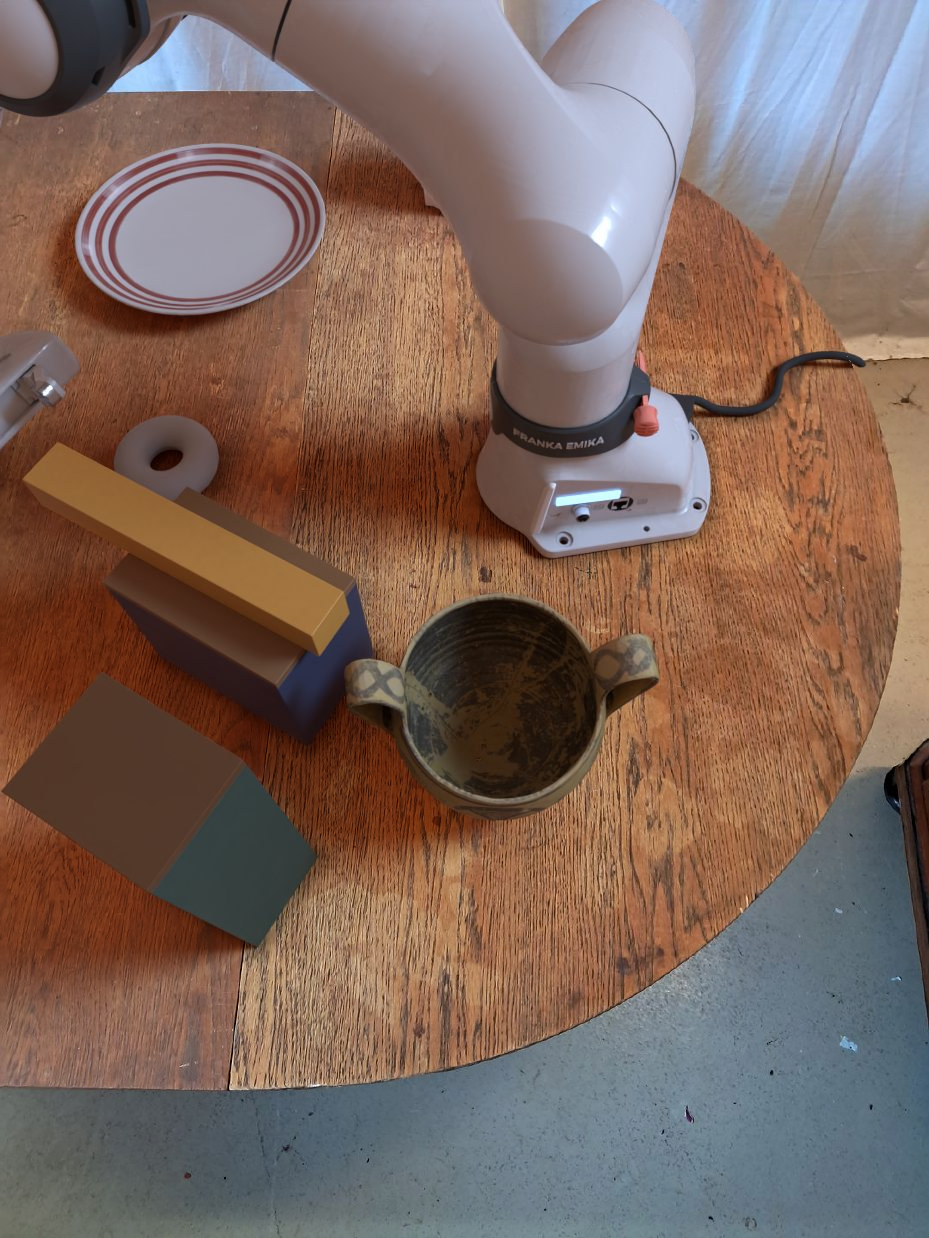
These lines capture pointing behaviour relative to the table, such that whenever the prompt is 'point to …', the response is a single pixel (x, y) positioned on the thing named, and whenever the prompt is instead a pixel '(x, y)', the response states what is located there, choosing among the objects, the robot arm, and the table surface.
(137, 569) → the brown-topped navy block
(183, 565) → the yellow ochre bar
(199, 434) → the donut
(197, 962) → the table surface
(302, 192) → the dinner plate
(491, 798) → the ceramic bowl
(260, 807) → the brown-topped teal block
